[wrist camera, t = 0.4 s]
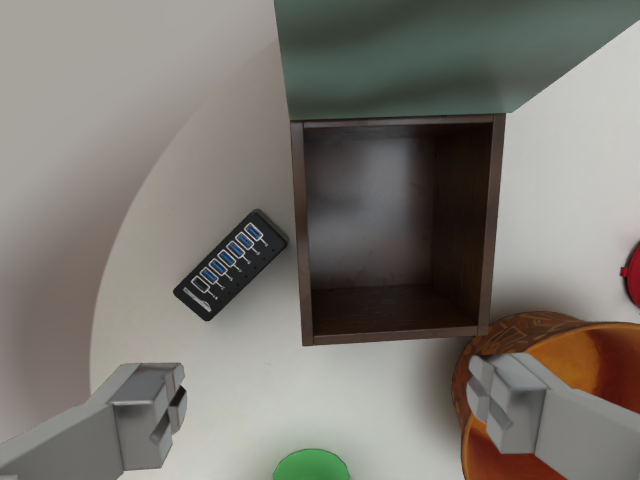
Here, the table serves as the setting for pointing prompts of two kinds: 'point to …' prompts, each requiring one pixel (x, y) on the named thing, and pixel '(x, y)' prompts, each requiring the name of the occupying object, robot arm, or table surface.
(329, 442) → the table surface
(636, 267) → the alarm clock
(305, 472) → the cup
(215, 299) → the multiport hub
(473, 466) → the bowl
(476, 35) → the green flat panel
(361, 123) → the open brown box
